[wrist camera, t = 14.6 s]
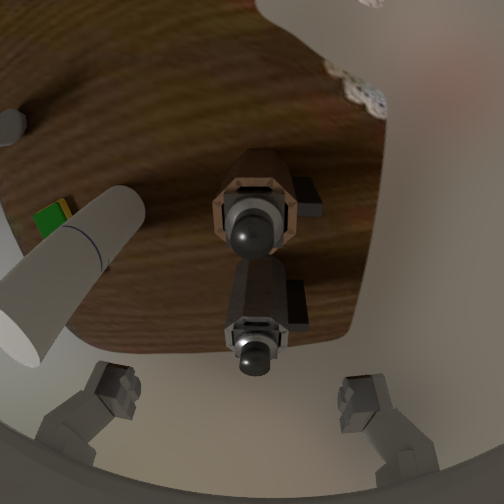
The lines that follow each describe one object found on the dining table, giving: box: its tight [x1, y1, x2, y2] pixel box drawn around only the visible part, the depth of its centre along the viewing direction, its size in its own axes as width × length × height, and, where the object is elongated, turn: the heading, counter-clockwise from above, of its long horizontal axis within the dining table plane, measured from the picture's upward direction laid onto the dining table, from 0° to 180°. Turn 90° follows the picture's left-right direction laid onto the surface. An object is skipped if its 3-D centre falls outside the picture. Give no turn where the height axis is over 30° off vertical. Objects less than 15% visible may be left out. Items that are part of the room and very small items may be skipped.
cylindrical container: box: [0, 185, 145, 368], centre depth 27 cm, size 7×7×25 cm
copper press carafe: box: [212, 149, 323, 254], centre depth 28 cm, size 7×9×13 cm
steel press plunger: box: [235, 322, 277, 376], centre depth 32 cm, size 4×4×12 cm
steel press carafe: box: [224, 254, 309, 359], centre depth 35 cm, size 7×9×13 cm
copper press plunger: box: [225, 186, 283, 260], centre depth 25 cm, size 4×4×12 cm
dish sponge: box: [33, 198, 72, 239], centre depth 40 cm, size 7×14×2 cm, turn 17°
